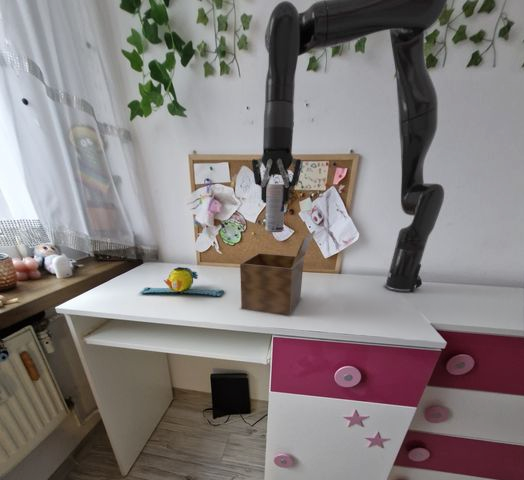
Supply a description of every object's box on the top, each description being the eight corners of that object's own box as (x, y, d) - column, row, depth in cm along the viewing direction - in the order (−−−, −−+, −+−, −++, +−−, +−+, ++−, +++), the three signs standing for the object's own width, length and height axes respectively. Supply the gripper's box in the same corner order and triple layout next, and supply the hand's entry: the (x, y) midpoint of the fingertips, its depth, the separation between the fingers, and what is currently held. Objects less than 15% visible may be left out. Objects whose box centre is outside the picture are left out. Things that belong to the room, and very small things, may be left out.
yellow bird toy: (127, 271, 85) (148, 261, 98) (134, 298, 90) (153, 284, 103) (215, 274, 84) (225, 263, 97) (218, 301, 88) (226, 287, 101)
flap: (303, 254, 84) (304, 255, 84) (291, 266, 72) (293, 266, 72) (314, 230, 79) (315, 231, 79) (303, 238, 67) (304, 239, 67)
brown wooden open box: (300, 298, 91) (303, 257, 84) (288, 315, 79) (292, 269, 72) (258, 293, 95) (258, 253, 88) (241, 308, 83) (239, 263, 76)
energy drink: (285, 230, 83) (287, 184, 77) (280, 232, 79) (282, 184, 73) (268, 229, 85) (269, 184, 78) (262, 231, 80) (263, 184, 74)
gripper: (246, 126, 68) (247, 202, 77) (302, 123, 64) (296, 205, 73) (257, 131, 74) (256, 201, 83) (309, 129, 70) (302, 203, 79)
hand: (275, 202), depth 78 cm, fingers closed on energy drink, 5 cm apart
